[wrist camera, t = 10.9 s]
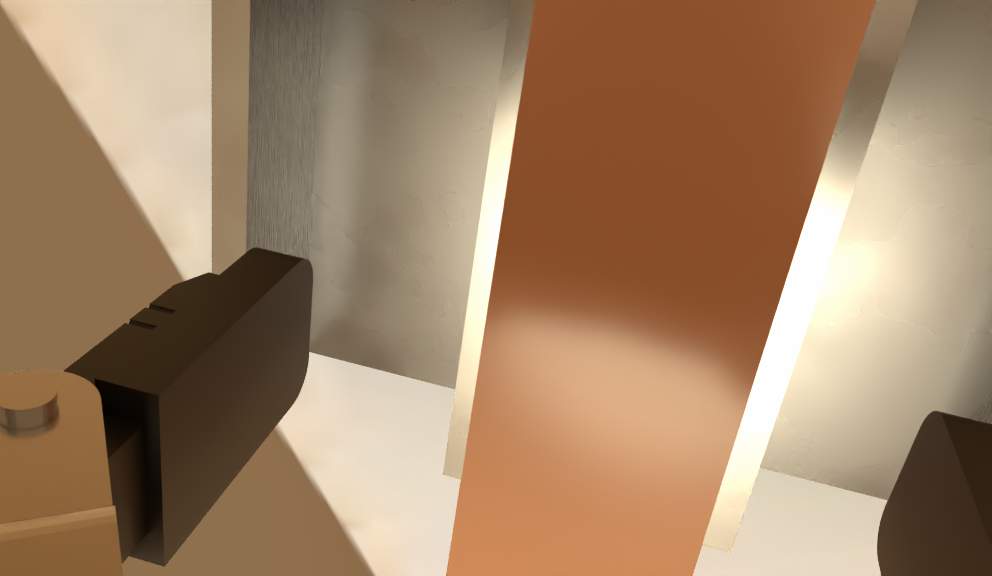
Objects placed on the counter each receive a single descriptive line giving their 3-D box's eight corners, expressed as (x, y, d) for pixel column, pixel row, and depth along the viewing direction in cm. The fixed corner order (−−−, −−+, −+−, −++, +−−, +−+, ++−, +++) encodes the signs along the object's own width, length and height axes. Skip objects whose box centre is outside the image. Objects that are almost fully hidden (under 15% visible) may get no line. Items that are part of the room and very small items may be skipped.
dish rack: (280, 323, 26) (196, 407, 22) (301, -241, 19) (189, -268, 16) (977, 500, 23) (1028, 633, 19) (1265, -95, 17) (1432, -82, 13)
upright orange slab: (651, -114, 18) (548, -90, 8) (804, -90, 18) (885, -33, 8) (563, 323, 22) (431, 670, 13) (684, 351, 22) (641, 734, 12)
